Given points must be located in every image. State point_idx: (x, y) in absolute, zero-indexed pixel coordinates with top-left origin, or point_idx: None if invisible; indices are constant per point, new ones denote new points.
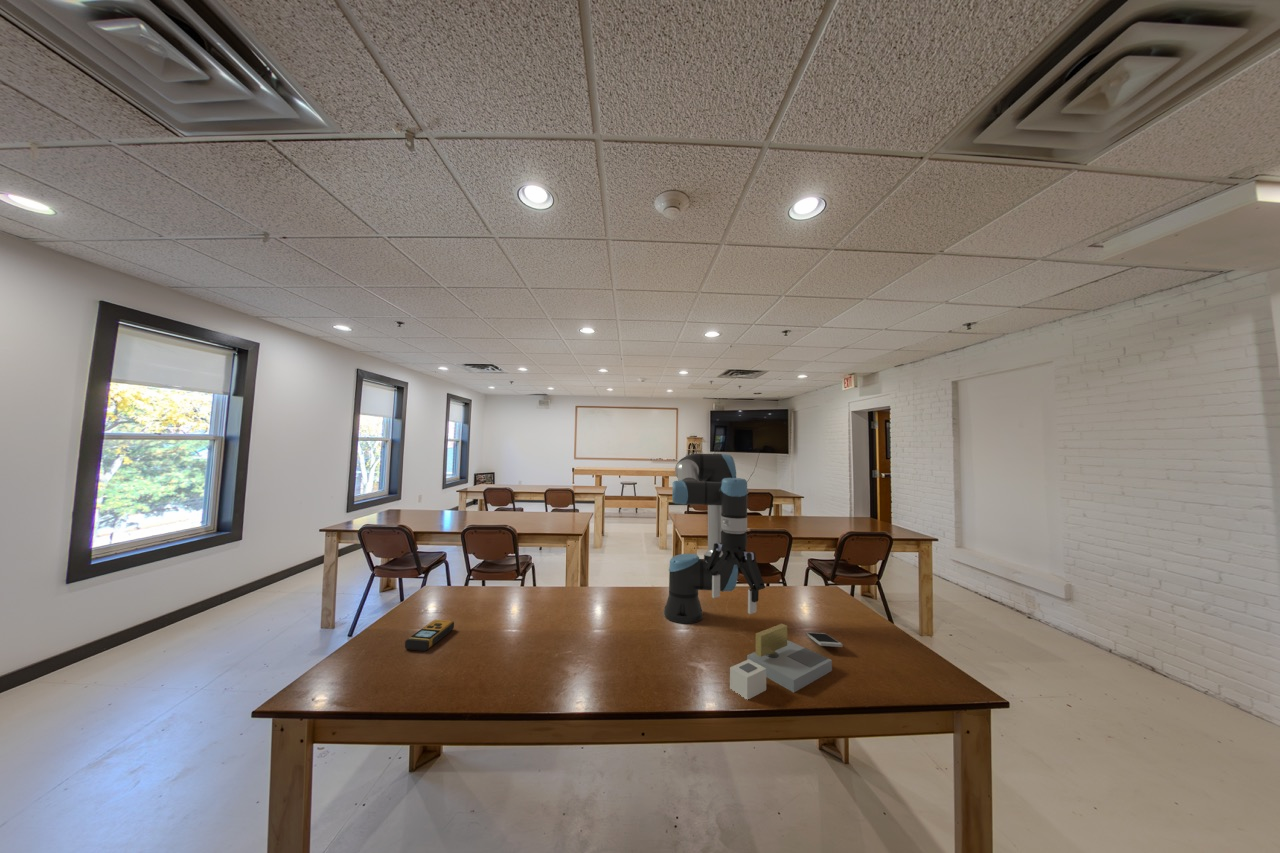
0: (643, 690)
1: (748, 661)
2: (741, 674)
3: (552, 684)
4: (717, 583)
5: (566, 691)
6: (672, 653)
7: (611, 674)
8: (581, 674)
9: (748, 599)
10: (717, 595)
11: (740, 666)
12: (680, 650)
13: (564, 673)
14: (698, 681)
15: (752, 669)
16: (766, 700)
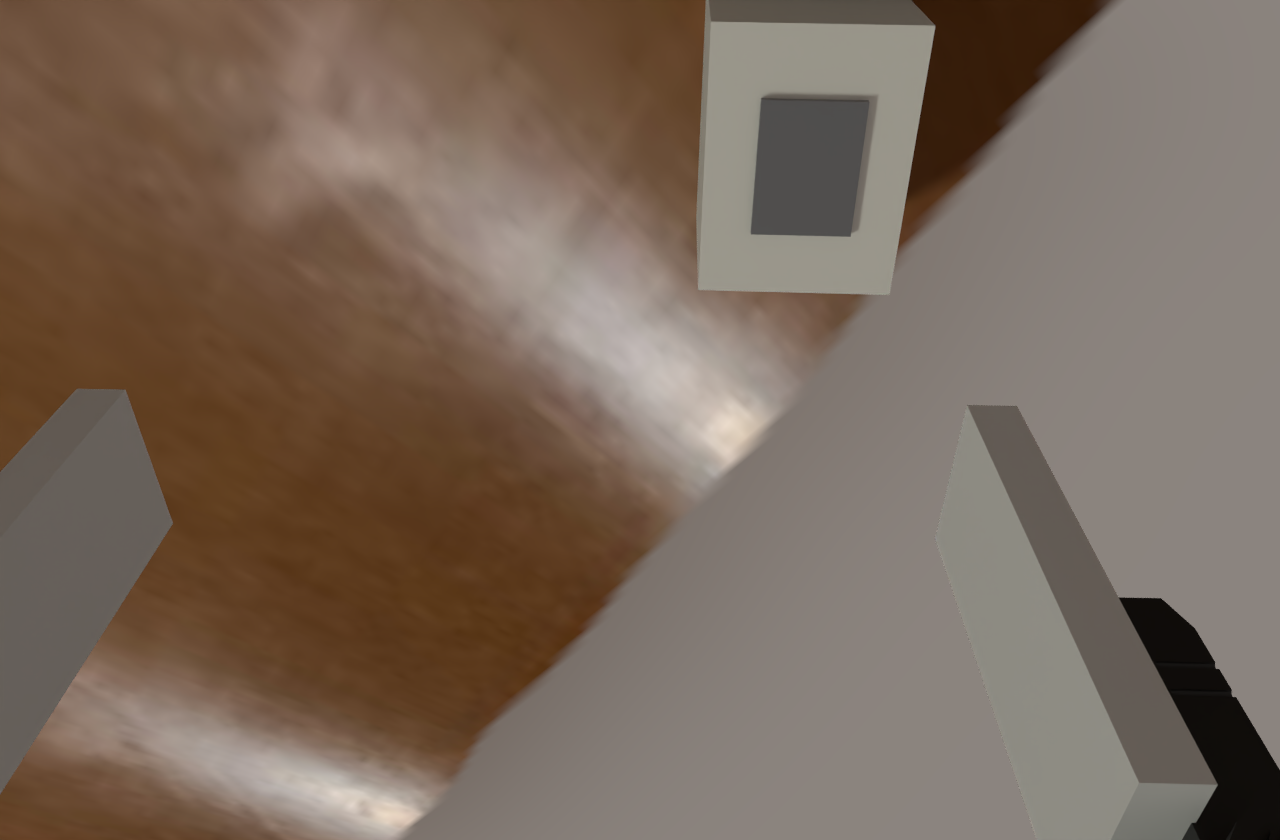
0: (417, 604)
1: (738, 65)
2: (826, 291)
3: (190, 827)
4: (3, 648)
5: (267, 812)
6: (61, 216)
7: (201, 642)
8: (148, 731)
9: (1009, 726)
10: (130, 466)
11: (753, 217)
12: (27, 123)
13: (113, 773)
14: (499, 323)
15: (856, 167)
16: (960, 100)
